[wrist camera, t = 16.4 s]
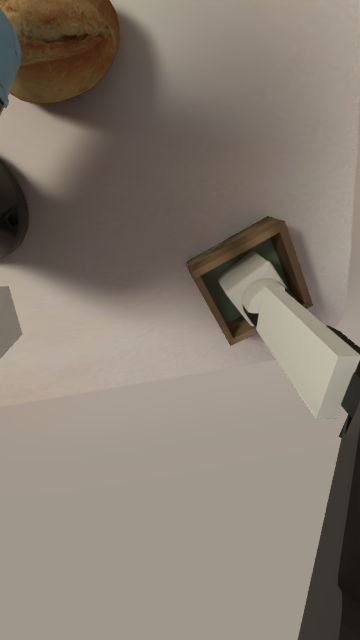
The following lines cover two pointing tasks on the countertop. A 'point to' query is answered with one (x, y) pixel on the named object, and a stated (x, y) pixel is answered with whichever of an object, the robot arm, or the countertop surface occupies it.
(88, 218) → the countertop surface
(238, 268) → the medicine bottle
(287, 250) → the walnut drop box
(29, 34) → the bread roll
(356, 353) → the robot arm
